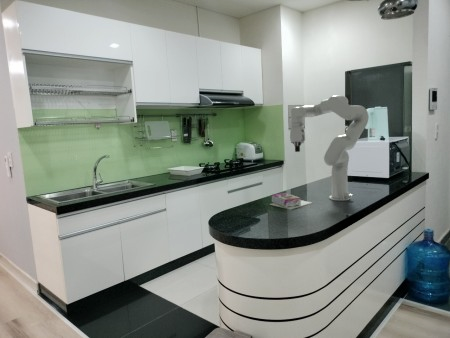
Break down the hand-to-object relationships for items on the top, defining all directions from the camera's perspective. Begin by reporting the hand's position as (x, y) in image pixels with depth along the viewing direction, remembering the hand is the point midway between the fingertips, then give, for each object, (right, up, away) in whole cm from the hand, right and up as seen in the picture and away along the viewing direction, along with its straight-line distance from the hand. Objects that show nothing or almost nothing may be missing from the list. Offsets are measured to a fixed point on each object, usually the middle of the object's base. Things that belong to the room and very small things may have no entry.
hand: (297, 151), depth 236 cm
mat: (-10, -34, -27) cm, 44 cm away
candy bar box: (-16, -30, -20) cm, 40 cm away
